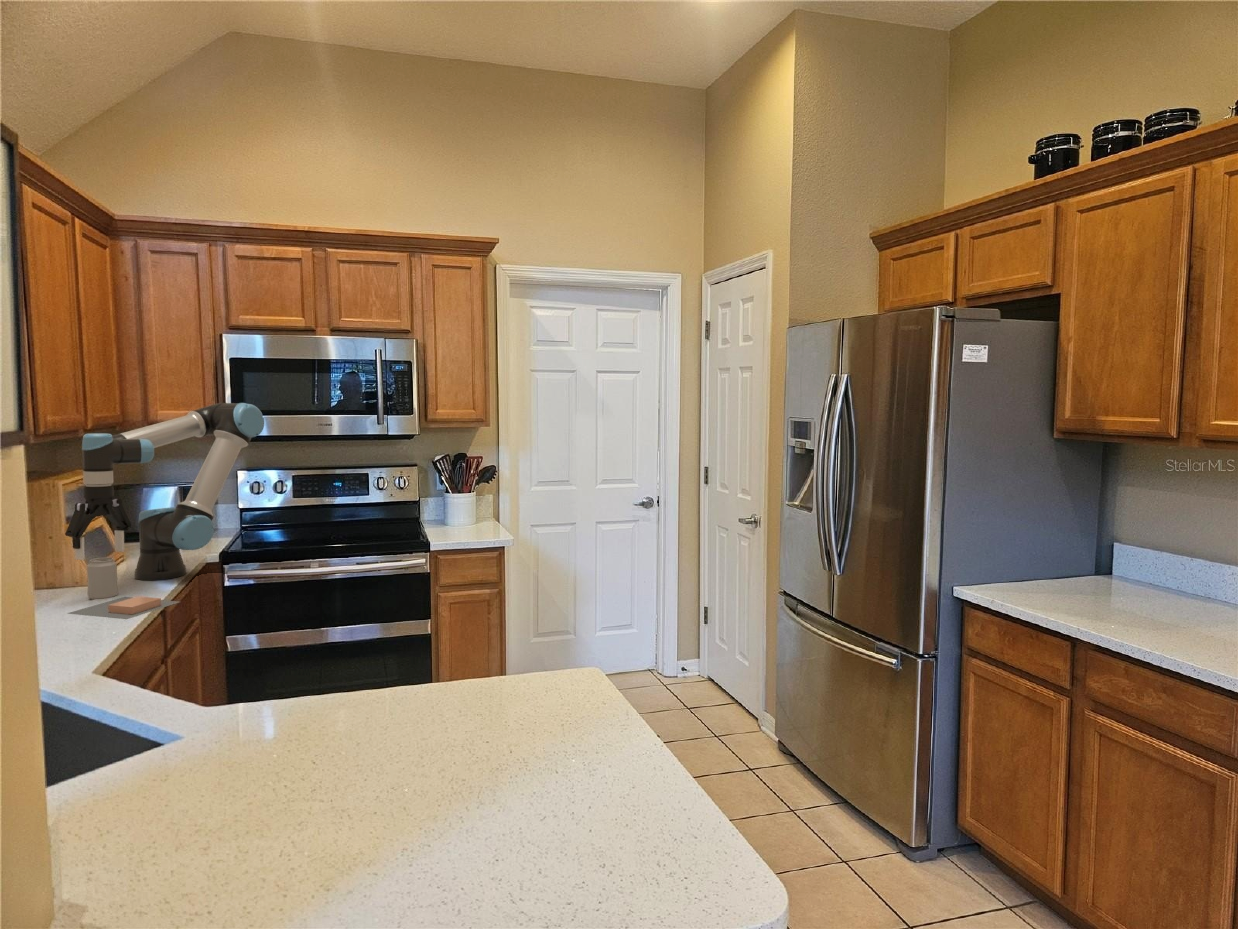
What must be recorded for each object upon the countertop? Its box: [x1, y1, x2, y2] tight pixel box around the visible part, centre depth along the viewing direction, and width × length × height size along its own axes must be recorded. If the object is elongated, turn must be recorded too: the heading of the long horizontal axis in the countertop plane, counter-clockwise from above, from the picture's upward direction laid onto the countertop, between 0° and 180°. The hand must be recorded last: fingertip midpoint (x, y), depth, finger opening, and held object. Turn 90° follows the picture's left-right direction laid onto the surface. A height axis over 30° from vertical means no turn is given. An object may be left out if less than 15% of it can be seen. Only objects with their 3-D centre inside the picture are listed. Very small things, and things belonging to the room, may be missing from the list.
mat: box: [66, 596, 180, 620], centre depth 222 cm, size 19×20×1 cm
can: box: [86, 556, 119, 601], centre depth 234 cm, size 8×8×12 cm
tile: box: [108, 595, 162, 615], centre depth 220 cm, size 2×8×10 cm
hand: (100, 555), depth 233 cm, fingers open, 13 cm apart
